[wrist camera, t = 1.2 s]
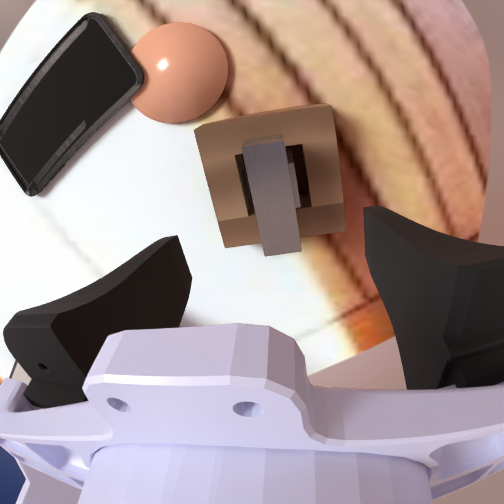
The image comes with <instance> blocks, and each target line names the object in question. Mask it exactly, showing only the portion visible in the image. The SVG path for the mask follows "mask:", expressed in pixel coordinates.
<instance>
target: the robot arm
mask: <svg viewBox="0 0 504 504" xmlns="http://www.w3.org/2000/svg"><path fill="white" fill-rule="evenodd" d="M363 211H364V232H365V256H366V260H367V263H368V266H369V270H370V273H371V276H372V278H373V281H374V283H375V285H376V287H377V290H378V292H379V294H380V296H381V299H382V301H383V303H384V305H385V308H386V310H387V312H388V315H389V317H390V320H391V323H392V326H393V329H394V333H395V336H396V340H397V344H398V348H399V352H400V356H401V361H402V365H403V370H404V376H405V381H406V386H407V390H380V389H379V390H378V389H353V388H336V387H322V386H313V385H312V384H310V382H309V380H308V377H307V372H306V364H305V357H304V355H303V353H302V352H301V350H300V348H299V346H298V345H297V343H296V341H295V340H294V339H293V338H291V337H289V336H288V335H286V334H284V333H282V332H280V331H278V330H276V329H274V328H272V327H270V326H263V325H252V324H242V323H234V324H222V325H210V326H196V327H181V328H179V325H180V322H181V319H182V316H183V314H184V311H185V308H186V305H187V302H188V299H189V294H190V289H191V282H192V276H191V273H190V270H189V267H188V265H187V262H186V259H185V256H184V253H183V250H182V247H181V244H180V241H179V238H178V235H176V236H170V237H164V238H162V239H159V240H158V241H156V242H154V243H153V244H151V245H150V246H148V247H147V248H145V249H144V250H142V251H141V252H139V253H138V254H137V255H135V256H134V257H132V258H131V259H130V260H128V261H127V262H125V263H124V264H122V265H121V266H119V267H118V268H116V269H115V270H113V271H112V272H110V273H109V274H107V275H106V276H104V277H102V278H101V279H99V280H97V281H95V282H93V283H92V284H90V285H88V286H86V287H84V288H82V289H80V290H78V291H76V292H73V293H71V294H69V295H67V296H65V297H62V298H60V299H57V300H55V301H52V302H49V303H46V304H43V305H40V306H37V307H33V308H30V309H26V310H23V311H19V312H17V313H16V314H15V315H14V316H13V317H12V319H11V320H10V321H9V323H8V324H7V325H6V326H5V328H4V331H3V336H4V340H5V343H6V345H7V348H8V349H9V351H10V352H11V354H12V355H13V357H14V358H15V359H16V361H17V362H18V363H19V364H20V366H21V367H22V368H23V369H24V371H25V372H26V373H27V374H28V376H29V377H30V378H31V381H30V382H29V384H28V385H27V384H25V383H24V382H22V381H19V380H14V379H10V378H5V379H4V381H3V382H2V384H1V386H0V446H1V447H3V448H4V449H5V450H6V451H7V452H9V453H10V454H11V455H12V456H14V457H15V459H16V461H17V463H18V465H19V466H20V468H21V470H22V472H23V474H24V475H25V478H26V481H25V483H24V485H23V488H22V490H21V493H20V495H19V497H18V500H17V502H16V504H433V501H432V500H435V499H438V498H440V497H443V496H446V495H448V494H450V493H453V492H455V491H458V490H460V489H462V488H465V487H467V486H470V485H471V484H474V483H476V482H478V481H480V480H482V479H485V478H486V477H488V476H490V475H493V474H495V473H497V472H498V471H500V470H502V469H504V246H496V245H488V244H483V243H477V242H473V241H468V240H464V239H460V238H456V237H453V236H450V235H447V234H444V233H441V232H438V231H435V230H432V229H430V228H428V227H425V226H423V225H421V224H418V223H416V222H414V221H412V220H410V219H408V218H406V217H403V216H401V215H399V214H397V213H395V212H393V211H391V210H389V209H387V208H385V207H382V206H371V207H364V208H363Z"/></svg>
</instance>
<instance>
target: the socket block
mask: <svg viewBox="0 0 504 504" xmlns="http://www.w3.org/2000/svg"><path fill="white" fill-rule="evenodd" d="M194 133H195V137H196V141H197V145H198V149H199V153H200V156H201V160H202V164H203V168H204V172H205V176H206V180H207V183H208V187H209V191H210V195H211V199H212V202H213V206H214V210H215V213H216V217H217V221H218V225H219V228H220V232H221V236H222V239H223V243H224V246H225V248H230V247H237V246H244V245H251V244H258V243H262V241H261V236H260V231H259V226H258V222H257V217H256V213H255V209H254V204H253V202H251V198H250V194H249V189H248V185H247V180H246V176H245V171H244V166H243V162H242V157H241V154H243V153H242V148H241V147H242V145H243V143H244V142H245V140H248V139H254V138H259V137H265V136H271V135H277V134H283V137H284V143H285V146H291V145H298V144H301V148H302V154H303V160H304V167H305V173H306V180H307V187H308V193H306V194H299V199H300V205H301V207H298V208H296V214H297V221H298V227H299V234H300V238H301V237H308V236H315V235H322V234H330V233H337V232H344V231H346V226H345V213H344V202H343V191H342V181H341V172H340V163H339V155H338V147H337V139H336V132H335V125H334V118H333V112H332V106H331V105H328V104H326V103H321V104H313V105H305V106H298V107H291V108H285V109H278V110H272V111H266V112H260V113H255V114H249V115H244V116H239V117H234V118H229V119H225V120H220V121H215V122H211V123H207V124H203V125H201V126H200V127H198V128H196V129H195V130H194Z"/></svg>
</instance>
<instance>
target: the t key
mask: <svg viewBox="0 0 504 504" xmlns="http://www.w3.org/2000/svg"><path fill="white" fill-rule="evenodd" d="M241 148H242V153H243V157H244V162H245V166H246V172H247V176H248V181H249V186H250V190H251V195H252V199H253V204H254V209H255V213H256V217H257V222H258V226H259V231H260V236H261V241H262V245H263V250H264V255H265V256H272V255H279V254H286V253H294V252H301V251H302V250H301V242H300V234H299V227H298V221H297V214H296V208H298V207H301V205H300V199H299V192H298V186H297V180H296V173H295V167H294V162H293V157H292V152H291V148H289V149H286V148H285V143H284V137H283V134H277V135H271V136H265V137H259V138H254V139H248V140H245V142H244V143H243V145H242V147H241Z"/></svg>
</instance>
